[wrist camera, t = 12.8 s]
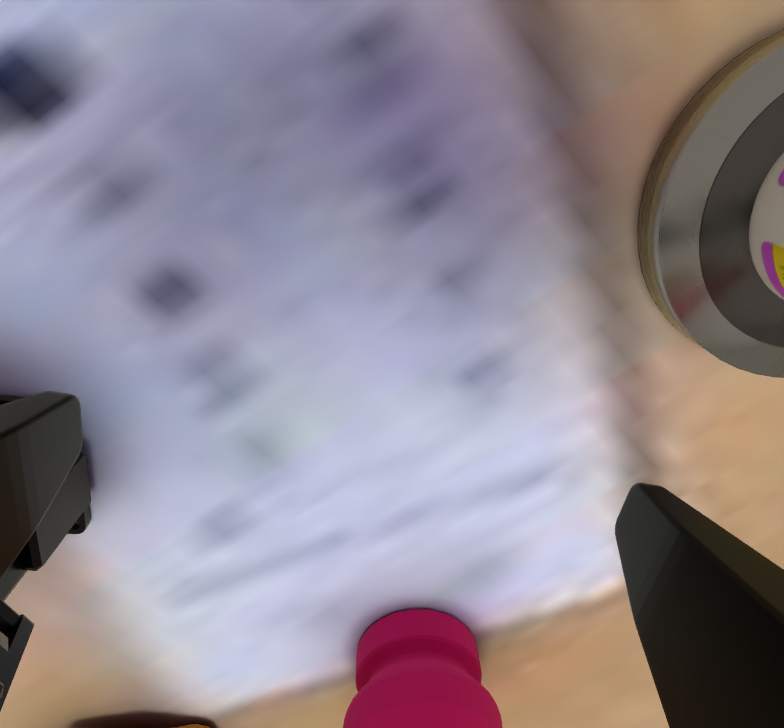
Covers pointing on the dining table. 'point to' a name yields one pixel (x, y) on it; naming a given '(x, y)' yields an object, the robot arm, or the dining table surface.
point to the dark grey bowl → (718, 213)
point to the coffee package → (193, 726)
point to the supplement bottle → (769, 229)
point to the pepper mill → (420, 675)
